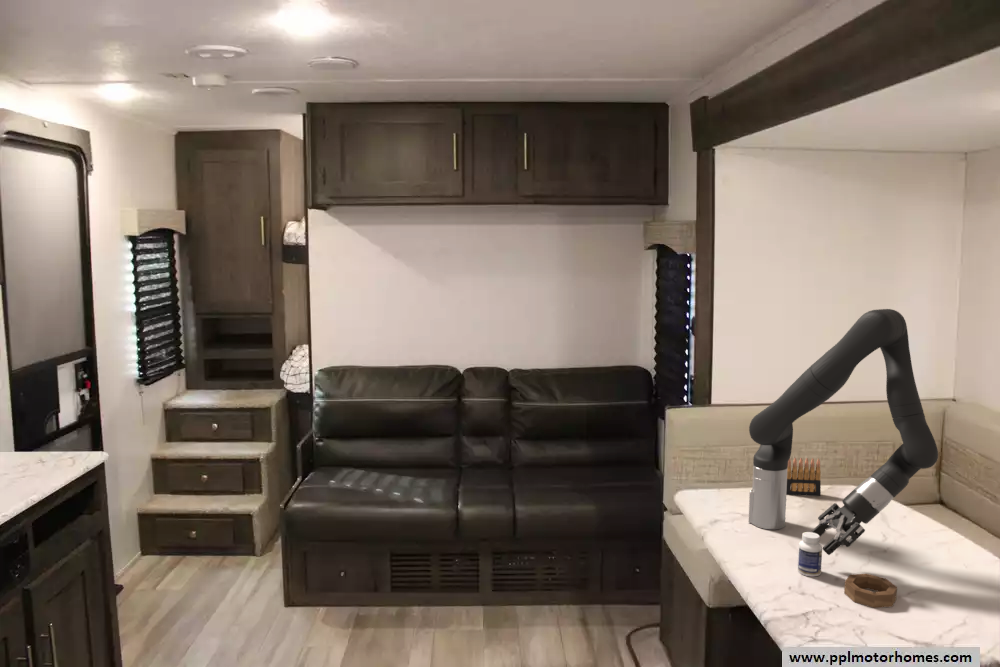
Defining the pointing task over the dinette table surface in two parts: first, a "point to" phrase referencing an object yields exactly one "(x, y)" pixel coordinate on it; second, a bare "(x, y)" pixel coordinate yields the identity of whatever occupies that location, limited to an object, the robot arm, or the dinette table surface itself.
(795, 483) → the ammunition clip
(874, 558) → the dinette table surface
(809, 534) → the pill bottle
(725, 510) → the dinette table surface
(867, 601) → the walnut ring
